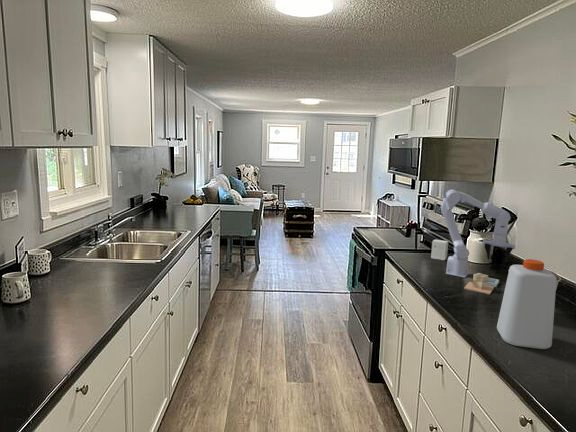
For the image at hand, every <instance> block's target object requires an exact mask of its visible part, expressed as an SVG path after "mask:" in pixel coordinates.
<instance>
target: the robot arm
mask: <svg viewBox="0 0 576 432" xmlns="http://www.w3.org/2000/svg"><path fill="white" fill-rule="evenodd" d="M458 203H467V204H470V205H471V206H474V207H476V208H477V209H480V211H481V213H482V214H484V215H486V216H489V217H490V218H493V219H495V223H494V231H493V237H492V238H493V239H492V240H485V239H483V240H482V245H484V250H485V251H486V256H487V260H490V259H491V251H492V250H491V249H492V246H493V247H500V248H505V256H504V262H503V263H507V262H508V258H509V256H510V254H511V253H512V251H513V250H516V247H517V245H516V244H512V243H508V242H507V234H508V230H509V229H508V228H509V221H511V214H510V213H509V212H508V211H506V210H505V209H503V207H500V206H496V205H495V204H494V203H493V202H491V201H490V202H488V201H487V202H482V201H481V200H479V199H476V198H475V197H473V196H471V195H470V194H467V193H465V192H462V191H458V190H456V189H453V188H451V189H448V190H447V191H446V192H445V194H444V195H443V198H442V202H441V206H440V210H441V213H442V216H443V218H444V222H445V224H446V227H447V230H448V232H449V233H448V234H449V235H450V238H451V241H452V243H453V252H454V254H453V255H449V256H447V263H446V269H445V271H446V272H445V274H446V275H449V276H455V277H461V278H466V277H467V276H468V275H469V273H468V272H467V270H468V263H469V255H470V251H469V249H468V248H467V246H466V244H464V241H463V239H462V236H461V233H460V230H459V228H458V224H457V223H456V222H457V221H456V219H455V217H454V214H453V209H454V208H455V206H456V205H457V204H458Z"/></svg>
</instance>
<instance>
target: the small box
mask: <svg viewBox="0 0 576 432" xmlns="http://www.w3.org/2000/svg"><path fill="white" fill-rule="evenodd" d="M431 242H432V243H431V253H430V254H431V256H430V258H431V259H435V260H441V261H446V260H447V259H448V249H449V248H448V247H449V241H448V240H442V239H433V240H432V241H431Z"/></svg>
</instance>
